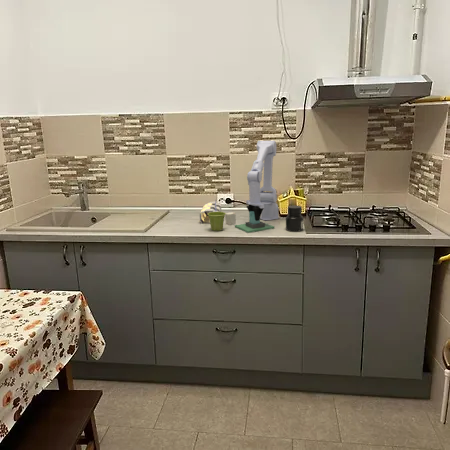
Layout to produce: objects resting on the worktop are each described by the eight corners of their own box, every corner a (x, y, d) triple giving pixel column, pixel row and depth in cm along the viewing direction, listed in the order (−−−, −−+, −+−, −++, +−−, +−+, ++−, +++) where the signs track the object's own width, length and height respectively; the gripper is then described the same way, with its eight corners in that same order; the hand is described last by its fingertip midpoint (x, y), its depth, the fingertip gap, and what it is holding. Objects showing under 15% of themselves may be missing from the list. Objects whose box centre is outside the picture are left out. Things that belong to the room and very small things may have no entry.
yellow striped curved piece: (218, 224, 237) (217, 201, 234) (199, 224, 238) (198, 201, 235) (221, 214, 262) (220, 193, 258) (204, 214, 262) (203, 193, 259)
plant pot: (229, 229, 224) (229, 213, 222) (216, 232, 218) (215, 216, 216) (218, 226, 231) (217, 210, 229) (204, 229, 225) (203, 213, 223)
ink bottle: (306, 231, 217) (307, 207, 214) (290, 232, 214) (290, 209, 211) (298, 226, 226) (298, 204, 223) (282, 228, 223) (282, 205, 220)
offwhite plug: (230, 222, 239) (230, 212, 238) (235, 223, 236) (235, 213, 235) (224, 224, 236) (224, 213, 235) (229, 225, 233) (229, 214, 232)
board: (259, 223, 236) (259, 217, 235) (274, 228, 224) (274, 222, 223) (234, 227, 228) (234, 221, 228) (248, 232, 216) (248, 227, 216)
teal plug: (255, 221, 227) (255, 210, 225) (259, 223, 223) (259, 211, 222) (248, 222, 225) (248, 211, 223) (252, 224, 221) (252, 213, 220)
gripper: (241, 192, 225) (241, 218, 228) (255, 196, 213) (256, 223, 216) (252, 191, 228) (252, 216, 232) (267, 195, 216) (267, 221, 219)
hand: (255, 219), depth 224 cm, fingers closed on teal plug, 4 cm apart
